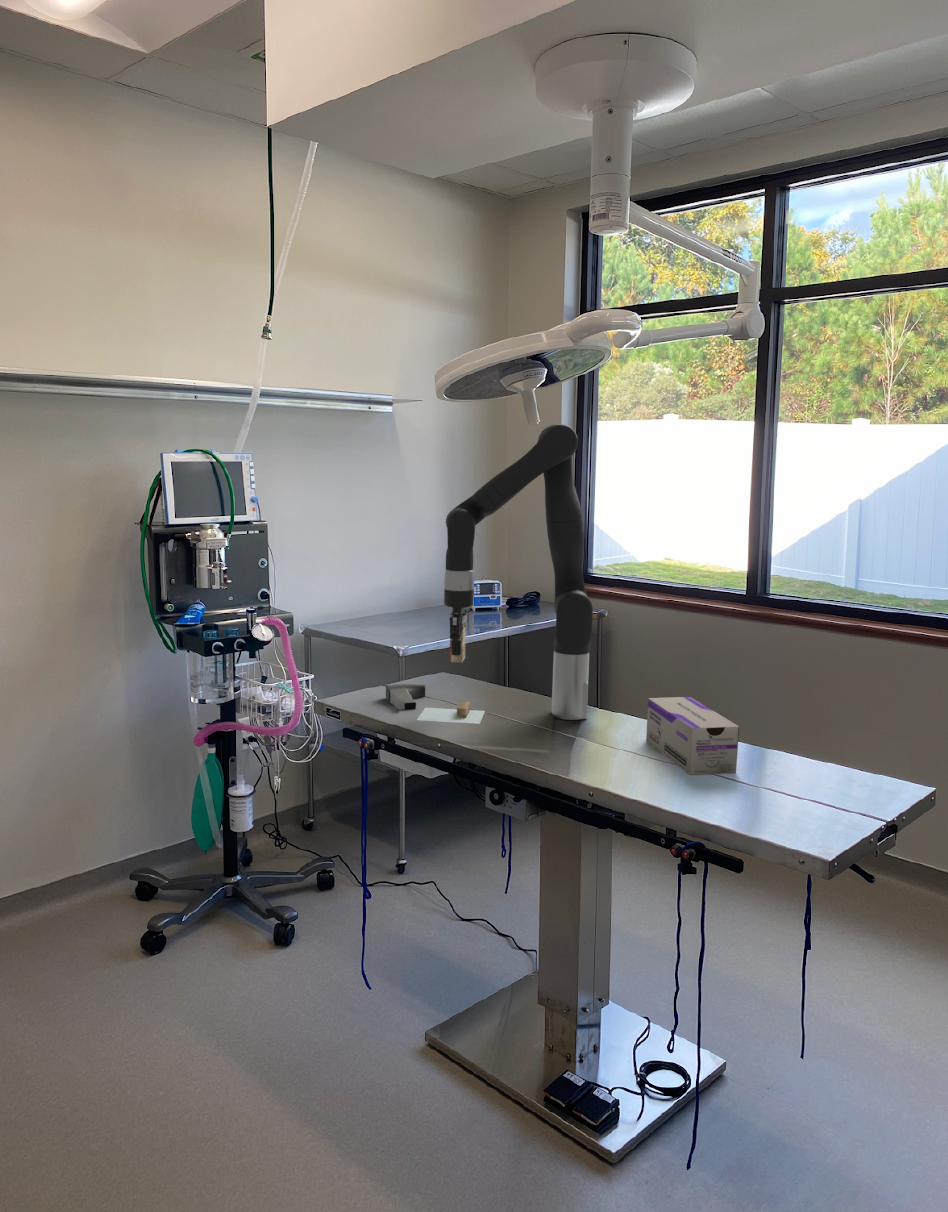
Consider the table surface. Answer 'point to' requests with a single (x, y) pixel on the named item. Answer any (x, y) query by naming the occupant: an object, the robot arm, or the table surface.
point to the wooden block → (461, 657)
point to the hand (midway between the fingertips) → (457, 652)
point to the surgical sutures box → (692, 735)
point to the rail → (463, 709)
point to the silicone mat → (450, 716)
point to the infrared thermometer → (404, 694)
